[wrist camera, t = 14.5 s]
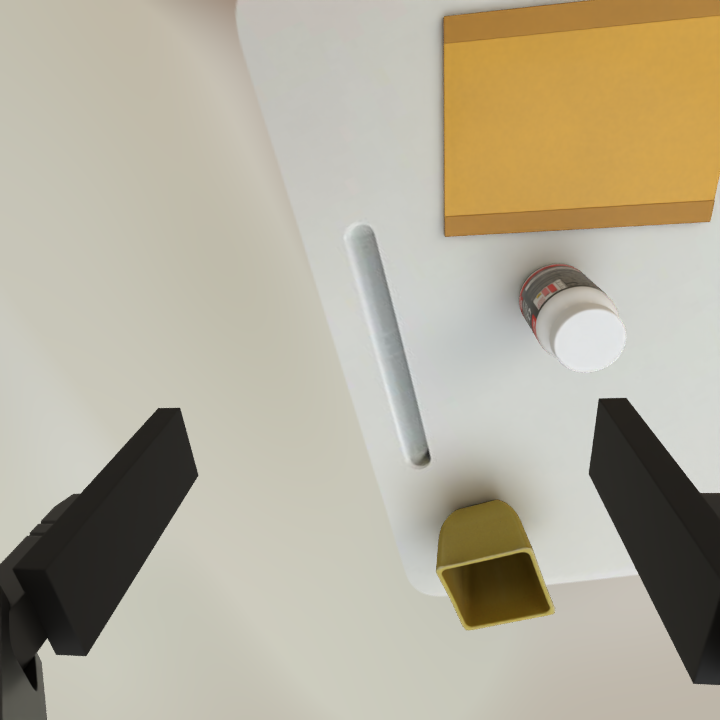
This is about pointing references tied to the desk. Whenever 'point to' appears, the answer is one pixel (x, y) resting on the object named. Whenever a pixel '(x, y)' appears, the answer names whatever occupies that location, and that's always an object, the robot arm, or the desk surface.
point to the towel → (581, 116)
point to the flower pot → (490, 567)
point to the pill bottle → (572, 318)
